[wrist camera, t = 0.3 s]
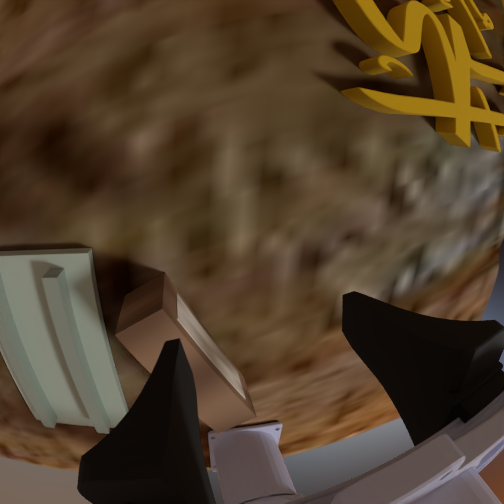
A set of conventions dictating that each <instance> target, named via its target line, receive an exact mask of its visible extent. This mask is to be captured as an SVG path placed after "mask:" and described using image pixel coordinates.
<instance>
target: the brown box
mask: <svg viewBox="0 0 504 504" xmlns="http://www.w3.org/2000/svg"><path fill="white" fill-rule="evenodd" d="M115 336H116V337H117V339H118V340H119V341H120V342H121V343H122V344H123V345H124V346H125V347H126V348H127V350H128V351H129V352H130V353H131V354H132V355H133V356H134V357H135V358H136V359H137V360H138V361H139V362H140V363H141V364H142V365H143V366H144V367H145V368H146V369H147V370H148V371H149V372H150V373H152V371H153V368H154V366H155V364H156V362H157V360H158V357H159V355H160V353H161V350H162V348H163V345H164V343H165V341H168V340H173V339H178V338H180V340H181V343H182V346H183V348H184V351H185V354H186V356H187V359H188V362H189V364H190V367H191V370H192V372H193V377H194V382H195V387H196V393H197V406H198V418H200V419H201V420H202V421H203V422H204V423H206V424H207V425H208V426H209V427H210V428H212V429H213V430H214V431H215V432H217V433H220V432H223V431H225V430H227V429H230V428H232V427H235V426H237V425H239V424H241V423H244V422H246V421H248V420H250V419H253V418H255V417H257V416H256V413H255V410H254V407H253V404H252V401H251V398H250V395H249V392H248V389H247V386H246V383H245V380H244V377H243V375H242V374H241V373H240V372H239V370H238V369H237V368H236V367H235V365H234V364H233V363H232V362H231V360H230V359H229V358H228V357H227V355H226V354H225V353H224V352H223V350H222V349H221V348H220V347H219V345H218V344H217V343H216V341H215V340H214V339H213V338H212V336H211V335H210V334H209V332H208V331H207V330H206V328H205V327H204V326H203V324H202V323H201V322H200V320H199V319H198V318H197V316H196V315H195V314H194V312H193V311H192V310H191V308H190V307H189V306H188V304H187V303H186V301H185V300H184V299H183V297H182V296H181V295H180V293H179V292H178V290H177V289H176V287H175V286H174V285H173V283H172V282H171V280H170V279H169V277H168V276H167V275H166V273H165V272H164V273H162V274H161V275H159V276H157V277H156V278H154V279H152V280H150V281H149V282H147V283H145V284H144V285H142V286H140V287H139V288H137V289H135V290H133V291H132V292H130V293H128V294H127V295H125V297H124V301H123V304H122V308H121V312H120V316H119V319H118V323H117V327H116V331H115Z"/></svg>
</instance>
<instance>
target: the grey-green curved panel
mask: <svg viewBox="0 0 504 504" xmlns="http://www.w3.org/2000/svg"><path fill="white" fill-rule="evenodd" d="M0 351H1V354H2V356H3V358H4V360H5V363H6V365H7V367H8V369H9V371H10V373H11V375H12V377H13V379H14V381H15V383H16V385H17V387H18V389H19V391H20V392H21V394H22V396H23V398H24V400H25V401H26V403H27V405H28V407H29V408H30V410H31V412H32V413H33V415H34V417H35V418H36V419H37V420H41V422H42V423H43V425H44V426H45V427H50V428H55V425H56V423H64V424H72V425H82V426H94V427H95V429H96V431H97V433H106V434H109V431H110V428H115V427H116V426H117V424H118V423H119V422H120V421H121V420H122V418H123V417H124V416H125V415H126V414H127V412H128V411H129V410H128V407H127V404H126V401H125V398H124V395H123V392H122V389H121V385H120V382H119V379H118V375H117V372H116V368H115V364H114V361H113V357H112V353H111V349H110V345H109V341H108V337H107V333H106V328H105V324H104V319H103V314H102V309H101V304H100V299H99V293H98V288H97V281H96V275H95V269H94V261H93V254H92V248H75V249H47V250H20V251H0Z"/></svg>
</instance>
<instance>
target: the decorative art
mask: <svg viewBox="0 0 504 504" xmlns="http://www.w3.org/2000/svg"><path fill="white" fill-rule="evenodd" d="M332 1H333V2H334V4H335V5H336V7H337V8H338V10H339V12H340V13H341V15H342V16H343V17H344V19H345V20H346V22H347V23H348V24H349V26H350V27H351V28H352V30H353V31H354V32H355V33H356V34H357V35H358V37H359V38H360V39H361V40H362V41H363V42H365V43H366V44H367V45H368V46H370V47H371V48H372V49H374V50H375V51H377V52H379V53H381V54H383V55H379V56H376V57H373V58H369V59H366V60H363V61H361V62H360V63H359V68H360V69H361V70H362V71H363V72H365V73H367V74H370V75H376V74H380V73H386V74H387V75H389V76H390V77H391V78H393V79H394V80H395V79H401V78H408V77H414V76H413V74H412V73H411V72H410V71H409V69H408V68H407V67H406V66H405V65H403V64H402V63H401V62H399V61H398V60H396V59H395V58H392V57H399V56H403V55H407V54H412V53H416V52H418V51H419V49H420V44H421V43H422V46H423V49H424V53H425V56H426V60H427V64H428V68H429V72H430V77H431V82H432V88H433V94H434V99H427V98H419V97H411V96H402V95H395V94H389V93H383V92H379V91H374V90H369V89H364V88H359V87H356V88H351V89H347V90H342V91H340V92H341V93H342V94H343V95H345V96H346V97H347V98H349V99H350V100H352V101H354V102H356V103H357V104H359V105H362V106H364V107H366V108H369V109H372V110H375V111H379V112H382V113H389V114H408V115H421V116H432V117H436V132H437V133H438V134H439V135H440V136H441V137H443V138H444V139H445V140H446V141H447V142H449V143H450V144H451V145H456V146H462V147H468V148H470V121H472V122H473V124H474V127H475V130H476V133H477V136H478V140H479V145H480V146H481V147H482V148H483V149H485V150H491V151H496V152H501V149H500V143H499V139H498V136H502V137H504V114H502V113H498V112H494V111H490V108H489V106H488V103H487V101H486V98H485V96H484V94H483V92H482V91H481V90H480V89H479V88H478V87H470V78H474V79H478V80H482V81H485V82H489V83H492V84H496V85H499V86H501V87H502V88H501V89H500V91H499V92H498V93H499V94H501V95H504V72H503V71H500V70H498V69H495V68H493V67H490V66H488V65H485V64H482V63H479V62H476V61H474V60H472V59H471V57H470V55H471V56H472V57H473V58H474V59H475V60H477V59H492V57H491V54H490V52H489V50H488V47H487V45H486V43H485V41H484V38H483V36H482V34H481V32H480V31H481V30H489V29H493V28H494V26H493V23H492V21H491V19H490V18H489V16H488V15H487V14H486V13H480V12H479V10H478V9H477V7H476V5H475V4H474V2H473V1H472V0H422V4H421V3H420V2H417V1H414V0H411V1H408V2H406V3H403V4H401V5H398V6H396V7H394V8H392V9H390V10H389V12H388V15H387V21H386V20H385V18H384V17H383V15H382V14H381V12H380V11H379V9H378V8H377V6H376V5H375V3H374V2H373V0H332ZM445 9H447V11H448V13H449V14H450V16H451V17H450V16H449V15H448V14H447V13H446V14H442V15H438V16H435V14H434V13H433V12H438V11H441V10H445ZM432 11H433V12H432Z"/></svg>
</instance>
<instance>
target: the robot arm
mask: <svg viewBox="0 0 504 504" xmlns="http://www.w3.org/2000/svg"><path fill="white" fill-rule="evenodd" d="M342 332H343V333H344V335H345V337H346V339H347V340H348V342H349V344H350V345H351V347H352V348H353V350H354V351H355V352H356V353H357V355H358V356H359V357H360V358H361V360H362V361H363V362H364V363H365V364H366V366H367V367H368V368H369V369H370V370H371V372H372V373H373V374H374V375H375V376H376V378H377V379H378V380H379V382H380V383H381V384H382V386H383V387H384V389H385V390H386V392H387V394H388V395H389V397H390V398H391V400H392V402H393V404H394V405H395V407H396V409H397V411H398V412H399V414H400V416H401V418H402V420H403V422H404V424H405V426H406V428H407V430H408V432H409V435H410V437H411V439H412V441H413V444H414V446H415V447H413V448H412V449H410V450H408V451H406V452H405V453H403V454H401V455H399V456H397V457H396V458H394V459H392V460H390V461H388V462H386V463H384V464H382V465H380V466H378V467H377V468H374V469H372V470H370V471H368V472H366V473H364V474H362V475H360V476H357V477H355V478H353V479H351V480H349V481H346V482H343V483H341V484H339V485H336V486H334V487H331V488H328V489H326V490H323V491H320V492H318V493H315V494H312V495H309V496H306V497H303V495H302V494H301V493H300V494H297V493H296V491H295V488H294V486H293V483H292V481H291V479H290V476H289V473H288V471H287V468H286V466H285V463H284V461H283V458H282V455H281V453H280V450H279V448H278V442H279V438H280V434H281V430H282V423H281V422H274V423H268V424H262V425H255V426H248V427H241V428H233V429H227V430H225V431H223V432H220V433H217V432H215V431H210V432H208V441H209V452H210V462H211V470H212V471H214V472H215V471H217V472H218V476H219V481H220V485H221V490H222V494H223V498H224V502H225V504H502V503H501V502H500V501H499V500H498V498H497V497H496V496H495V494H494V493H493V492H492V491H491V489H490V488H489V487H488V486H487V484H486V483H485V482H484V480H483V479H482V478H481V477H480V475H479V474H478V473H479V472H480V471H481V470H482V469H483V468H484V467H485V466H486V465H487V464H488V463H490V462H491V461H492V460H493V459H494V458H495V457H496V456H497V455H498V454H499V453H500V452H501V451H502V449H504V372H503V371H502V370H501V369H502V368H503V364H502V363H500V362H499V359H500V357H501V354H502V352H503V350H504V326H503V325H501V324H500V323H499V322H497V321H496V320H486V321H459V320H449V319H441V318H435V317H430V316H426V315H421V314H418V313H414V312H411V311H408V310H404V309H401V308H398V307H396V306H393V305H390V304H387V303H385V302H382V301H380V300H377V299H375V298H372V297H369V296H367V295H364V294H361V293H359V292H355V291H353V292H350V293H347V294H344V295H343V313H342ZM77 489H78V491H79V493H80V494H81V495H82V496H83V497H84V498H86V499H87V500H88V501H90V502H91V503H93V504H216V502H215V498H214V495H213V491H212V488H211V484H210V481H209V477H208V473H207V469H206V465H205V460H204V456H203V451H202V447H201V440H200V432H199V419H198V406H197V393H196V387H195V382H194V377H193V372H192V370H191V367H190V364H189V362H188V359H187V356H186V354H185V351H184V348H183V346H182V343H181V340H180V338H178V339H173V340H168V341H165V343H164V345H163V348H162V350H161V353H160V355H159V357H158V360H157V362H156V364H155V366H154V368H153V371H152V373H151V375H150V377H149V379H148V381H147V382H146V384H145V386H144V388H143V390H142V391H141V393H140V395H139V396H138V398H137V400H136V401H135V403H134V404H133V406H132V407H131V408H130V410H129V411H128V412H127V414H126V415H125V416H124V417H123V418H122V420H121V421H120V422H119V423H118V424H117V426H116V427H115V428H114V429H113V430H112V431H111V432H110V433H109V434H108V435H107V436H106V437H105V438H103V439H102V440H101V441H100V442H99V443H98V444H97V445H95V446H94V447H93V448H92V449H90V450H89V451H88V452H87V453H85V454H84V455H82V457H81V462H80V466H79V476H78V486H77Z"/></svg>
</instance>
